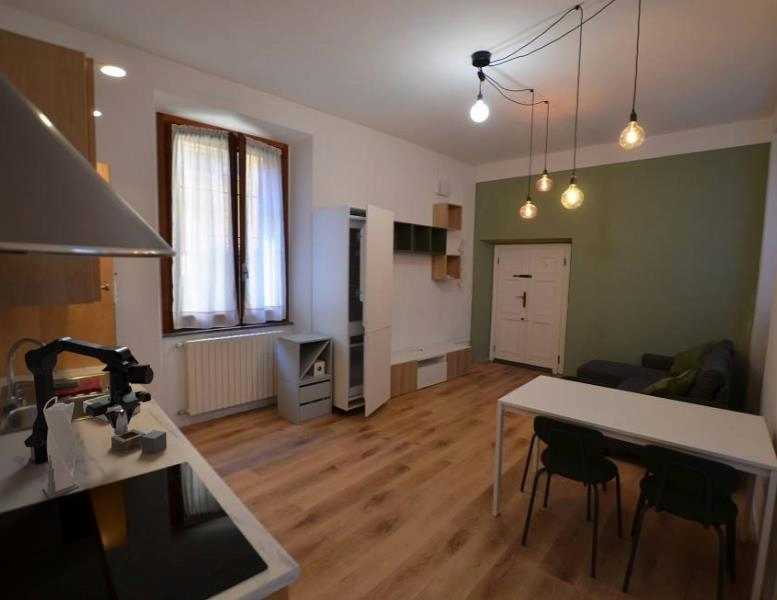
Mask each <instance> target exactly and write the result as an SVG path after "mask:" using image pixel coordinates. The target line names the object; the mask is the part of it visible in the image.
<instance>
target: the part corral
mask: <svg viewBox="0 0 777 600" xmlns="http://www.w3.org/2000/svg"><path fill="white" fill-rule="evenodd" d="M109 397H110V393H109V394H106V395H101V396H98V397H94V398H92V399H87V400H84V401H83V402H82V403H83V404H82V405H83V406H82V407H83V414H84V413H85V414H86V410H85V409H86V407H87V405H90V404H94V403H97V402H100V403H103V404H106V403H110V401H108V398H109ZM139 403H140V404H141V402H139ZM117 409H122V407H121V406H118V407H115V408H113V411H115V410H117ZM140 411H141V405H140V406H138V407H137V408H136V409H135V410H134V412H133V414H136V413H139V412H140ZM99 418H100V419H99ZM97 419H99V420H101V419H102V421H103V422H104V421H105V422H106V421H107V422H109V421H108V419H107V418H106V416H105V415H104V414H103V415H100V416H97Z"/></svg>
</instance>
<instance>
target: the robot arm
mask: <svg viewBox="0 0 777 600" xmlns="http://www.w3.org/2000/svg"><path fill="white" fill-rule="evenodd" d="M63 352H68V353H73V354H75V355H80V356H85V357H88V358H89V357H90V358H93V359H96V360H98V361H100V363H102V364H104V365H105V367H104V368H103V369H102V370H101V372H103V373H108V379H109V380H108V382H109V383H108V386H107V390H109V394H110V397H109V398H108V401H110V403H106V404H103V403H100V402H97V403H94V404H90V405H87V407H86V409H85V410H86V413H85V414H87V415H89V416H90V417H94V418H96V416H100V415H103V414H104V415H105V416H106V418H107V419H108V421H107V422H108V423H109V424H110V426H111V428H112V429H113V430H114V429H115V427H116V423H115V414H116V411H113V407H116V406H121V407H122V409H124V410H127V418H128V425H129V424H130V421H131V419H132V417H133V415H134V413H133V412H134V410H135V409H136V408H137V407H138V406H140V407H141V403H147V402H150V401H152V395H151V393H150V392H147V391H145V390H143V389H142V390H138V391H133V388H132V385H150V384H151V383H152V382H153V379H154V375H155V373H154V370H153V368H152V367H151V365H150V364H148V363H147V364H140V362H139V361H138V360H137V359H136V358H135V356H134V355H133V353H132V352H131V350H130V348H129V347H128V346H122V345H102V344H99V343H98V344H97V343H92V342H89V341H84V340H79V339H75V338H72V337H70V336H63V337H59V338H56V339H54V340H52V341H51V342H49V343H47V344H45V345H43V346H40V347H35V348H32V349H29V350H28V351H27V352H25V353H24V355H23V356H24V357H23V358H24V362H25V366H26V368H27V370H29V372H30V373H31V374H32V375H33V384H34V394H35V404H36V414H37V415H36V417H35V419H34V422H33V424H32V429H31V430H32V431H31V434H30V435H29V436H28V437H27V438H26V439H25V440H23V444H24V445H25V447H26V448H30V456H29V458H28V461H30V462H32V463H34V464H36V465H39V464H42V463H45V462H48V454H47V435H48V425H47V422H46V419H45V415H44V412H43V410H44V407H45V405H46V403H47V402H48V401H49V400H50V399H52V398H53V397H56V393H55V383H54V375H53V372H54V369H55V367H56V365H57V363H58V355H60V354H61V353H62V354H63ZM130 384H131V385H130ZM55 400H56V398H55V399H53V400H51V401H50V402H49V403H48V404H47V406H46V409H48V408H50V407H51V406H53V405H54V404H55ZM139 402H140V403H139ZM46 409H45V410H46Z"/></svg>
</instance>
